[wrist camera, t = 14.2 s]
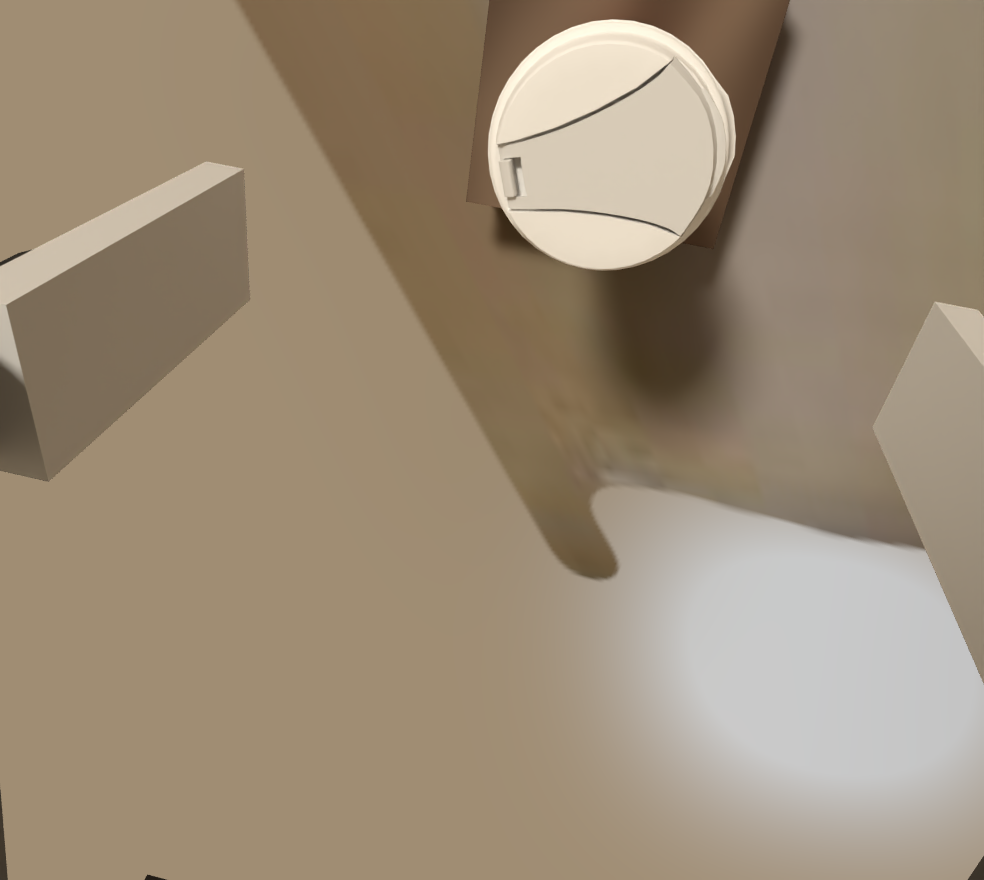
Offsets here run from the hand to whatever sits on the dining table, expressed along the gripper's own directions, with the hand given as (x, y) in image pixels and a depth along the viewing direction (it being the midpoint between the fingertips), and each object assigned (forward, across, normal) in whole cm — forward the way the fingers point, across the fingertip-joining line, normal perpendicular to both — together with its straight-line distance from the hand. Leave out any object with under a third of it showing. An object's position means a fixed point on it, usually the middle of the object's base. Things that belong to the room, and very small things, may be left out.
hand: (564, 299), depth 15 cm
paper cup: (+25, 0, 0) cm, 25 cm away
